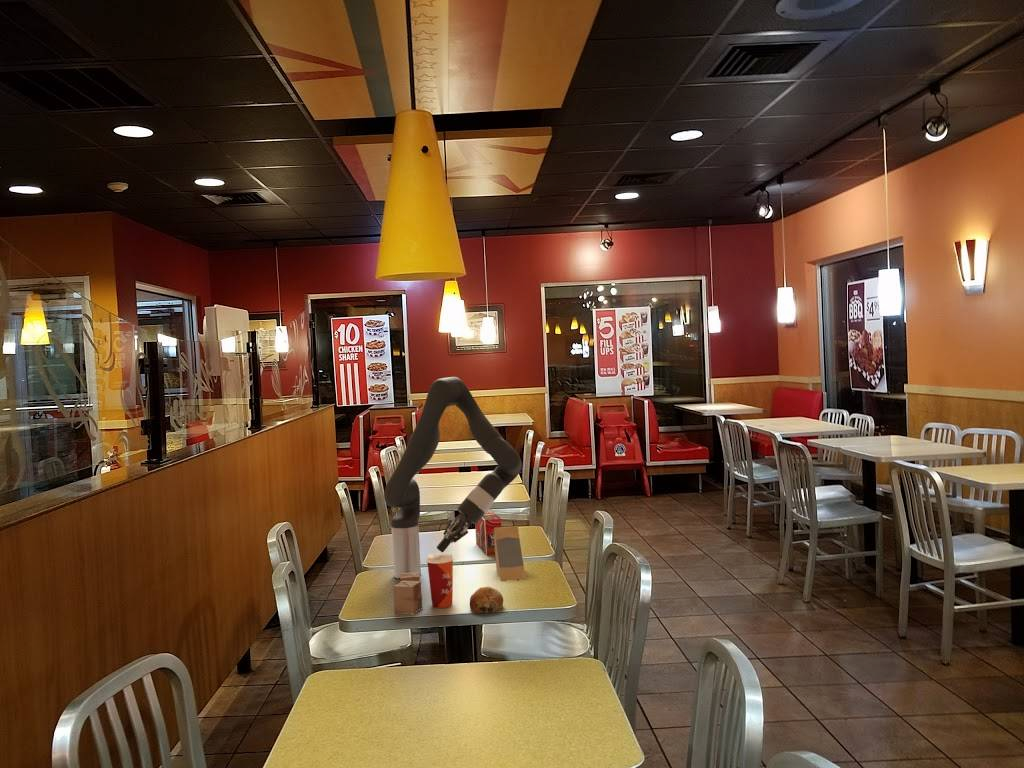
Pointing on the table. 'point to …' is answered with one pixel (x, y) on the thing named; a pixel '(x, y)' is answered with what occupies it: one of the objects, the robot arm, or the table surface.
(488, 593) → the bread roll
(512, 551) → the sandwich container
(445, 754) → the table surface
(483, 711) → the table surface
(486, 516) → the ice cream box
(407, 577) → the two-dot block
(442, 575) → the coffee cup
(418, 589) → the three-dot block
